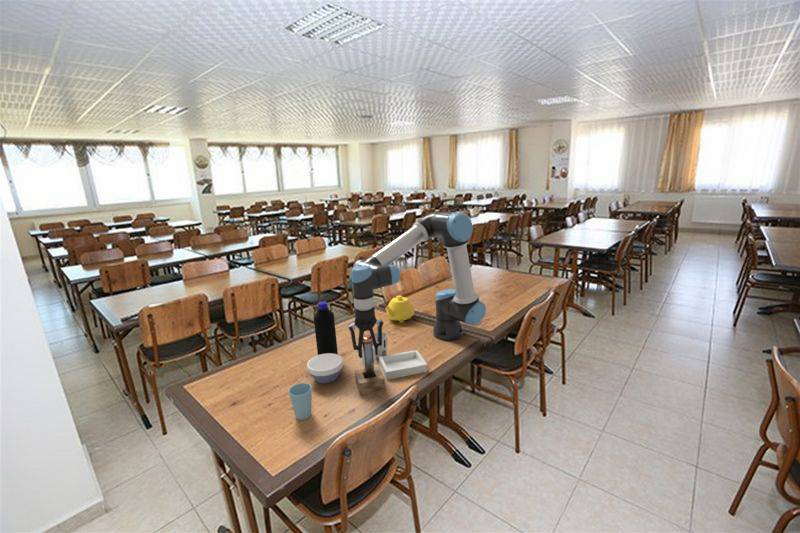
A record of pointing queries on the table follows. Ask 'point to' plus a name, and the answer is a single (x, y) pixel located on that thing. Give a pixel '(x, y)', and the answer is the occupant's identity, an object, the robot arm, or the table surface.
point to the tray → (402, 364)
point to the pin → (368, 356)
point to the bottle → (325, 330)
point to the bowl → (325, 367)
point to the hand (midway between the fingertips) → (369, 363)
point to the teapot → (399, 309)
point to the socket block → (370, 381)
